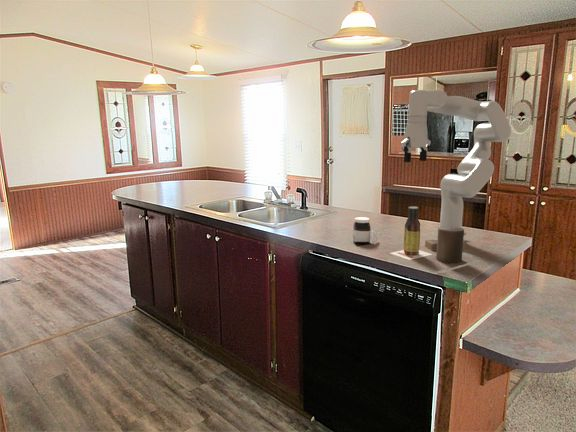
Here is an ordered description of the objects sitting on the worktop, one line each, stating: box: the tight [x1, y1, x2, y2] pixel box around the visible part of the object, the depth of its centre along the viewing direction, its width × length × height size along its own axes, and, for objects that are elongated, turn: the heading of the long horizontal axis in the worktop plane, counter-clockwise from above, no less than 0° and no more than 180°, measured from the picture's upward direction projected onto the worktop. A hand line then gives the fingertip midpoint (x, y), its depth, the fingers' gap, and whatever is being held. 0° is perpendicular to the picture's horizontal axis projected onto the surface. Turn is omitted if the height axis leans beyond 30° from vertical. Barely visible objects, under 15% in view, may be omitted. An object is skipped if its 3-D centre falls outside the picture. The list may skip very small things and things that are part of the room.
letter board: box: [389, 249, 433, 261], centre depth 175 cm, size 14×11×1 cm
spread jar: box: [352, 216, 379, 246], centre depth 192 cm, size 12×11×12 cm
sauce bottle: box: [403, 205, 421, 255], centre depth 172 cm, size 7×6×20 cm
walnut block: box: [424, 239, 437, 252], centre depth 182 cm, size 6×6×4 cm
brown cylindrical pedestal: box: [435, 225, 465, 264], centre depth 165 cm, size 10×10×15 cm
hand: (415, 161), depth 179 cm, fingers open, 9 cm apart
